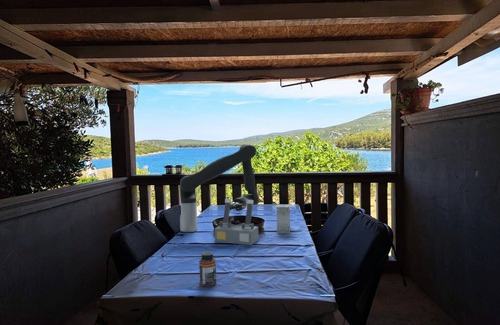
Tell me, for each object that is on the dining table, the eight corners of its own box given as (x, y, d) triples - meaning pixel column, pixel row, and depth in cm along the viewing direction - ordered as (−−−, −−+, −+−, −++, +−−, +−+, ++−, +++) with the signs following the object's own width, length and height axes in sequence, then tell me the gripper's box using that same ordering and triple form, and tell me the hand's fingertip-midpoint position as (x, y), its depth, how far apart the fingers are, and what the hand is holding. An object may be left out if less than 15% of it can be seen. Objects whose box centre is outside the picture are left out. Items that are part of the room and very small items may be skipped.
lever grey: (243, 226, 165) (246, 199, 169) (245, 227, 166) (248, 200, 170) (249, 227, 163) (252, 199, 167) (251, 227, 165) (253, 200, 169)
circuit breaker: (289, 226, 195) (289, 202, 194) (290, 232, 181) (289, 206, 180) (277, 226, 196) (276, 202, 195) (277, 232, 182) (276, 207, 181)
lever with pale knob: (221, 225, 170) (225, 198, 174) (223, 225, 171) (226, 199, 175) (227, 225, 168) (230, 199, 172) (228, 225, 170) (232, 199, 174)
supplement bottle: (200, 280, 117) (199, 250, 116) (216, 280, 117) (215, 250, 117) (199, 287, 111) (198, 256, 110) (216, 286, 111) (215, 255, 111)
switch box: (214, 241, 167) (214, 223, 167) (223, 236, 176) (222, 219, 176) (251, 245, 159) (251, 226, 159) (258, 239, 169) (258, 222, 168)
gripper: (230, 196, 192) (217, 201, 176) (250, 197, 187) (239, 202, 171) (231, 209, 192) (217, 214, 176) (251, 210, 187) (239, 216, 171)
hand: (228, 208), depth 174 cm, fingers closed
